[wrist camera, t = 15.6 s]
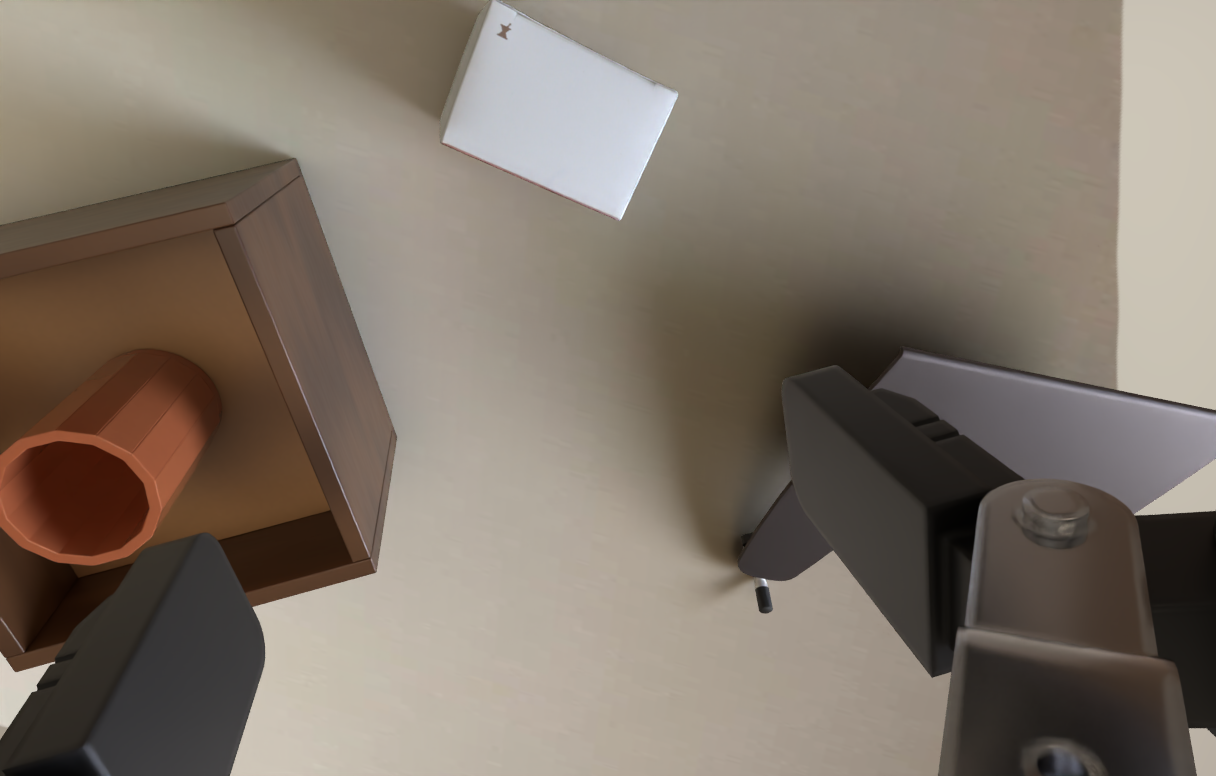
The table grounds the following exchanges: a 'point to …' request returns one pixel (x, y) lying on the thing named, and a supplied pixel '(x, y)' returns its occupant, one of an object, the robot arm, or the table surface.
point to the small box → (553, 111)
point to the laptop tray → (1015, 444)
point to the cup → (109, 459)
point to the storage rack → (230, 356)
